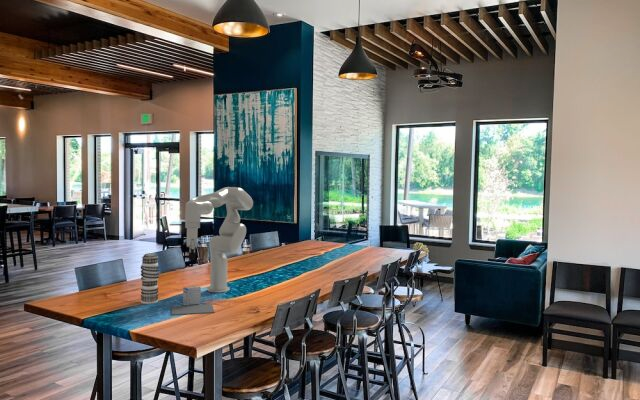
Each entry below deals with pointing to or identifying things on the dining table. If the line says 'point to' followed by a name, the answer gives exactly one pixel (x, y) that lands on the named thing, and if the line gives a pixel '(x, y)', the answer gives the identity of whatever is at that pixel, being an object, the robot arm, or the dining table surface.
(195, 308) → the charcoal mat
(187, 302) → the medicine box
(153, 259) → the decorative candle
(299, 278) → the dining table surface
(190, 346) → the dining table surface
